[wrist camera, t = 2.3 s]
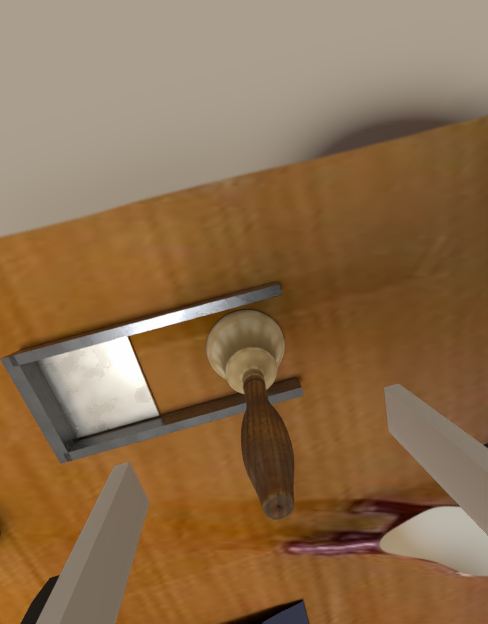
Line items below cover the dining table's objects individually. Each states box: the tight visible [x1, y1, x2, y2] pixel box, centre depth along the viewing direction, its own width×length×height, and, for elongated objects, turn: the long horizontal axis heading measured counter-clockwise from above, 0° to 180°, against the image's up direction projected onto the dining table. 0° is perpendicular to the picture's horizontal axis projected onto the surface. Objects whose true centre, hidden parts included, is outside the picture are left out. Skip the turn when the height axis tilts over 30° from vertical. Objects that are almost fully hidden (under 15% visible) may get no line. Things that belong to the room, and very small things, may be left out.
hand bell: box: [206, 310, 294, 520], centre depth 17 cm, size 8×8×16 cm
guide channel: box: [1, 282, 304, 463], centre depth 23 cm, size 12×26×2 cm, turn 104°
